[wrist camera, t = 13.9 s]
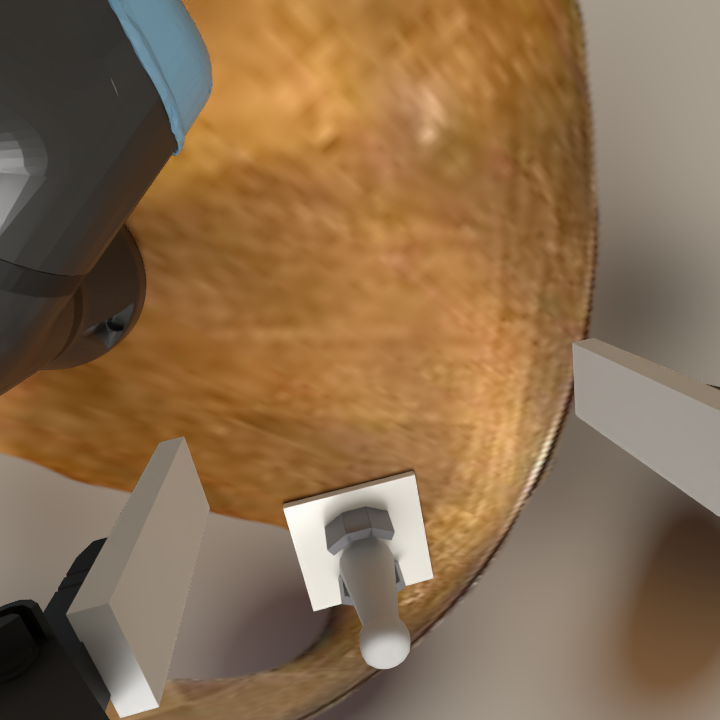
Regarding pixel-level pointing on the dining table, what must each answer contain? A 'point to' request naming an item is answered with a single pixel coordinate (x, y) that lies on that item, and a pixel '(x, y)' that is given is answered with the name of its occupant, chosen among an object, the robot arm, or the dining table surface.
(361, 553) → the salt shaker
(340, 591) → the square base with blocks
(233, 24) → the dining table surface
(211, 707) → the dining table surface
